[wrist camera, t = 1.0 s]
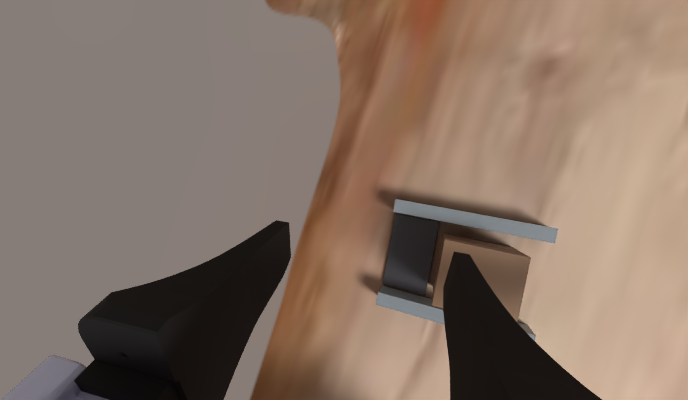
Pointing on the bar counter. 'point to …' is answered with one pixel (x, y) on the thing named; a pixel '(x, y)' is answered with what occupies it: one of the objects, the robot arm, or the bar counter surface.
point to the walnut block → (486, 269)
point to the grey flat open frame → (417, 251)
